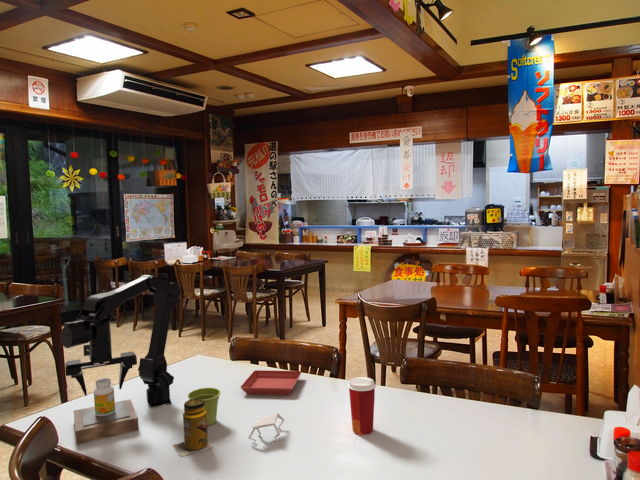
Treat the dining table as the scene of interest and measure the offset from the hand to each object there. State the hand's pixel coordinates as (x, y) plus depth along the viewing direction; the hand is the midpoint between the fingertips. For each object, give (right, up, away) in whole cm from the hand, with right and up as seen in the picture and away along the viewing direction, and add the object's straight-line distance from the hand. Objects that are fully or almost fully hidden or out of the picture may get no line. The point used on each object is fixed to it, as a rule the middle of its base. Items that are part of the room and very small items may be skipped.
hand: (103, 392), depth 143 cm
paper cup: (+75, -9, -7) cm, 76 cm away
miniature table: (+50, -10, -9) cm, 51 cm away
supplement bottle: (0, -7, +1) cm, 7 cm away
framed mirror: (0, -10, +1) cm, 10 cm away
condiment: (+29, -11, -13) cm, 34 cm away
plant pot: (+29, -10, +2) cm, 31 cm away
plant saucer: (+46, -8, +29) cm, 55 cm away
